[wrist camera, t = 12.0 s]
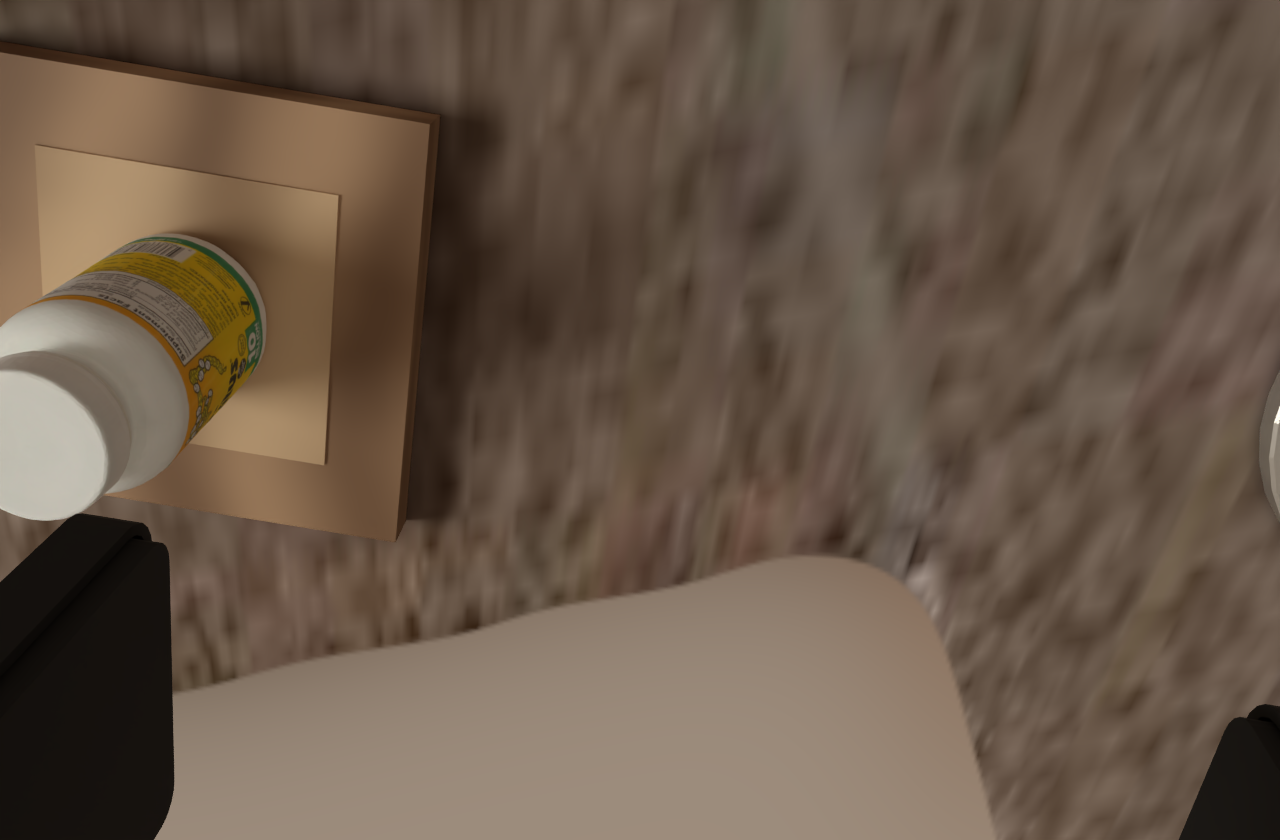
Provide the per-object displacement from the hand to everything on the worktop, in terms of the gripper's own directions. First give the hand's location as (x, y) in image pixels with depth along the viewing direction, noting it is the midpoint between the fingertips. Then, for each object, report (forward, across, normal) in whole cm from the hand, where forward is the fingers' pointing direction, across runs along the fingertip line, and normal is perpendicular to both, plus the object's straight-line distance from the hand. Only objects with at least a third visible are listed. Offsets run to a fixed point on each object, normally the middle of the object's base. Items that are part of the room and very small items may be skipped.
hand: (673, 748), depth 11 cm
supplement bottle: (+26, +15, +7) cm, 31 cm away
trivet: (+27, +16, +7) cm, 32 cm away
